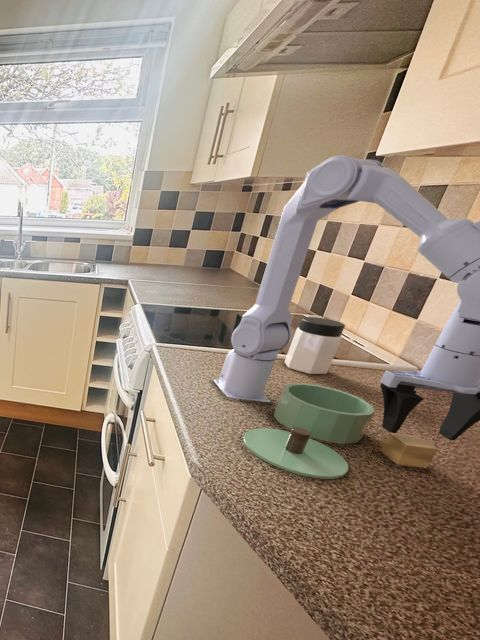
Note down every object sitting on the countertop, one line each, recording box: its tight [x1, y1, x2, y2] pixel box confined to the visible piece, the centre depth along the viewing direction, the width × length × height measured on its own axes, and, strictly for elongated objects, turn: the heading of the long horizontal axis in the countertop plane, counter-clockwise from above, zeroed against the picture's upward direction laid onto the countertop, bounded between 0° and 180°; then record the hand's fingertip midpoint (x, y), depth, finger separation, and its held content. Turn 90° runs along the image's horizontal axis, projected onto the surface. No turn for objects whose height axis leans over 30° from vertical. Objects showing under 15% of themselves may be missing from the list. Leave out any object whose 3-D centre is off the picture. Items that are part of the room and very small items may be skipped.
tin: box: [273, 382, 376, 445], centre depth 74 cm, size 13×13×6 cm
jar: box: [284, 316, 346, 375], centre depth 101 cm, size 9×8×12 cm
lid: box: [242, 427, 350, 480], centre depth 66 cm, size 14×14×5 cm
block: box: [379, 431, 439, 469], centre depth 65 cm, size 4×4×4 cm
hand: (417, 433), depth 64 cm, fingers open, 7 cm apart
